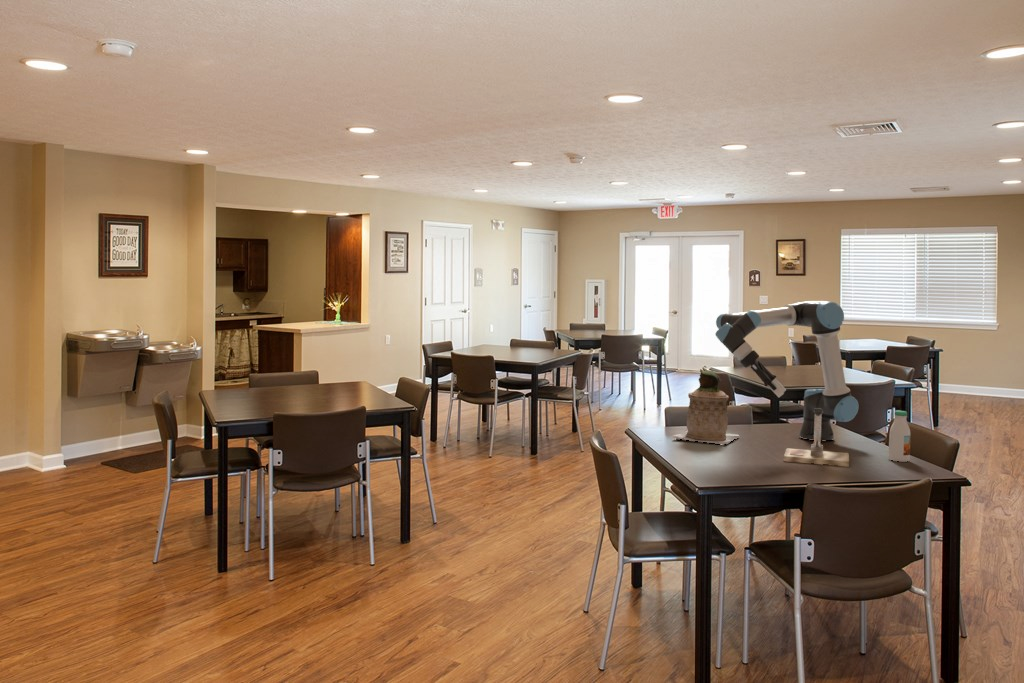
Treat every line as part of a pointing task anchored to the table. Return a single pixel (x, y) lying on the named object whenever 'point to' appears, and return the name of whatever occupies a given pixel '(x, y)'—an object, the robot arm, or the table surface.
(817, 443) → the lever
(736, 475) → the table surface
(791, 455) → the bench base
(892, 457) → the milk bottle
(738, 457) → the table surface
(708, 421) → the cookie jar
